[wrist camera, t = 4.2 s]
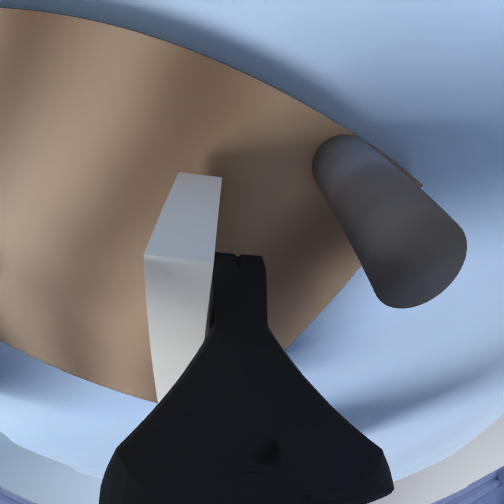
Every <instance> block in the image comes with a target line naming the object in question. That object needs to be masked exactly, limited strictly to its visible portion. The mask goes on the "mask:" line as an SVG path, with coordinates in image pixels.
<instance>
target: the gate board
mask: <svg viewBox="0 0 504 504" xmlns="http://www.w3.org/2000/svg"><path fill="white" fill-rule="evenodd" d="M179 172H181V173H190V174H199V175H207V176H215V177H222V183H221V192H220V202H219V212H218V222H217V232H216V243H215V252H219V253H232V254H235V255H236V256H237V257H238V256H239V255H241V254H245V255H258V256H262V258H263V261H264V264H265V268H266V280H267V318H268V327H269V328H270V330H271V332H272V333H273V335H274V336H275V338H276V339H277V341H278V342H279V344H280V345H281V347H282V348H283V350H284V351H285V350H286V349H287V348H288V347H289V346H290V344H291V343H292V342H293V341H294V340H295V339H296V338H297V337H298V336H299V335H300V334H301V333H302V332H303V331H304V330H305V329H306V328H307V327H308V325H309V324H310V323H311V322H312V321H313V320H314V319H315V318H316V317H317V316H318V315H319V314H320V312H321V311H322V310H323V309H324V308H325V307H326V306H327V305H328V304H329V302H330V301H331V300H332V299H333V298H334V297H335V296H336V294H337V293H338V292H339V291H340V290H341V289H342V288H343V286H344V285H345V284H346V283H347V282H348V281H349V279H350V278H351V277H352V276H353V275H354V274H355V272H356V271H357V270H358V269H359V268H360V266H361V265H362V267H363V269H364V271H365V273H366V275H367V277H368V279H369V281H370V283H371V285H372V287H373V290H374V292H375V294H376V296H377V297H378V299H379V300H380V301H381V302H382V303H384V304H385V305H387V306H390V307H393V308H410V307H415V306H418V305H421V304H423V303H426V302H428V301H429V300H431V299H433V298H434V297H436V296H437V295H439V294H440V293H441V292H443V291H444V290H445V289H446V288H447V287H448V286H449V285H450V284H451V283H452V281H453V280H454V279H455V277H456V276H457V275H458V273H459V271H460V269H461V267H462V265H463V263H464V260H465V256H466V251H467V241H466V236H465V234H464V232H463V230H462V228H461V227H460V226H459V225H458V224H457V223H456V222H455V221H454V220H453V219H452V218H451V217H450V216H449V215H448V214H447V213H446V212H445V211H444V210H443V209H442V208H441V207H440V206H439V205H438V204H437V203H436V202H435V201H434V200H432V199H431V198H430V197H429V196H428V195H427V194H426V193H425V192H424V191H423V190H422V189H421V187H422V186H423V185H422V184H421V183H420V182H419V181H417V180H416V179H415V178H414V177H413V176H412V175H410V174H409V173H408V172H407V171H405V170H404V169H403V168H401V167H400V166H399V165H397V164H396V163H395V162H393V161H392V160H391V159H389V158H388V157H387V156H385V155H384V154H382V153H381V152H380V151H378V150H377V149H375V148H374V147H372V146H371V145H370V144H368V143H367V142H365V141H364V140H362V139H361V138H359V137H358V136H356V135H355V134H353V133H352V132H350V131H349V130H347V129H346V128H344V127H342V126H341V125H339V124H338V123H336V122H334V121H333V120H331V119H330V118H328V117H326V116H325V115H323V114H321V113H320V112H318V111H316V110H315V109H313V108H311V107H309V106H308V105H306V104H304V103H302V102H301V101H299V100H297V99H295V98H293V97H292V96H290V95H288V94H286V93H284V92H282V91H280V90H278V89H276V88H275V87H273V86H271V85H269V84H267V83H265V82H263V81H261V80H259V79H257V78H255V77H252V76H250V75H248V74H246V73H244V72H242V71H240V70H237V69H235V68H233V67H231V66H229V65H226V64H224V63H222V62H219V61H217V60H215V59H212V58H210V57H207V56H205V55H202V54H200V53H197V52H195V51H192V50H190V49H187V48H184V47H181V46H179V45H176V44H173V43H170V42H167V41H164V40H162V39H158V38H155V37H152V36H149V35H146V34H143V33H139V32H136V31H133V30H129V29H126V28H122V27H118V26H114V25H110V24H106V23H102V22H98V21H93V20H89V19H84V18H79V17H74V16H69V15H63V14H57V13H50V12H43V11H35V10H26V9H15V8H0V341H2V342H4V343H6V344H7V345H9V346H11V347H13V348H15V349H17V350H19V351H21V352H23V353H25V354H27V355H29V356H31V357H33V358H35V359H38V360H40V361H42V362H44V363H46V364H48V365H51V366H53V367H55V368H58V369H60V370H62V371H65V372H67V373H70V374H72V375H74V376H77V377H80V378H82V379H85V380H87V381H90V382H93V383H95V384H98V385H101V386H104V387H107V388H109V389H112V390H115V391H118V392H121V393H125V394H128V395H131V396H134V397H137V398H141V399H144V400H148V401H151V402H155V403H158V400H157V394H156V387H155V380H154V373H153V365H152V357H151V348H150V339H149V328H148V317H147V304H146V290H145V271H144V253H145V250H146V247H147V245H148V242H149V240H150V237H151V235H152V232H153V230H154V228H155V225H156V223H157V220H158V218H159V216H160V213H161V211H162V209H163V206H164V204H165V202H166V199H167V197H168V195H169V193H170V190H171V188H172V186H173V184H174V181H175V179H176V177H177V175H178V173H179ZM209 303H210V296H209ZM208 324H209V304H208V312H207V320H206V329H205V338H204V340H205V339H206V337H207V335H208Z"/></svg>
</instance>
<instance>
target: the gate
mask: <svg viewBox="0 0 504 504" xmlns="http://www.w3.org/2000/svg"><path fill="white" fill-rule="evenodd" d="M221 183H222V177H215V176H207V175H199V174H190V173H181V172H179V173H178V175H177V177H176V179H175V181H174V184H173V186H172V188H171V190H170V193H169V195H168V197H167V199H166V202H165V204H164V206H163V209H162V211H161V213H160V216H159V218H158V220H157V223H156V225H155V228H154V230H153V232H152V235H151V237H150V240H149V242H148V245H147V247H146V250H145V253H144V271H145V290H146V304H147V317H148V328H149V339H150V348H151V357H152V365H153V373H154V380H155V387H156V394H157V400H158V403H159V402H160V401H161V400H162V399H163V397H164V396H165V395H166V394H167V393H168V391H169V390H170V389H171V388H172V387H173V385H174V384H175V383H176V381H177V380H178V379H179V377H180V376H181V375H182V373H183V372H184V371H185V369H186V368H187V366H188V365H189V363H190V362H191V360H192V359H193V358H194V356H195V355H196V353H197V352H198V350H199V348H200V347H201V345H202V343H203V342H204V338H205V329H206V320H207V312H208V304H209V296H210V288H211V280H212V272H213V265H214V254H215V243H216V232H217V222H218V212H219V202H220V192H221Z"/></svg>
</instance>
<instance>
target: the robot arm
mask: <svg viewBox="0 0 504 504" xmlns="http://www.w3.org/2000/svg"><path fill="white" fill-rule="evenodd" d="M393 490H394V485H393V481H392V476H391V472H390V469H389V466H388V463H387V461H386V458H385V456H384V453H383V450H382V449H381V448H380V447H378V446H377V445H376V444H375V443H373V442H372V441H371V440H369V439H368V438H367V437H366V436H364V435H363V434H362V433H361V432H360V431H358V430H357V429H356V428H355V427H354V426H353V425H351V424H350V423H349V422H348V421H347V420H346V419H345V418H344V417H343V416H342V415H341V414H339V413H338V412H337V411H336V410H335V409H334V408H333V407H332V406H331V405H330V404H329V403H328V402H327V401H326V400H325V399H324V398H323V396H322V395H321V394H320V393H319V392H318V391H317V390H316V389H315V388H314V387H313V386H312V384H311V383H310V382H309V381H308V380H307V379H306V378H305V377H304V376H303V374H302V373H301V372H300V371H299V369H298V368H297V367H296V366H295V364H294V363H293V362H292V361H291V359H290V358H289V357H288V355H287V354H286V352H285V351H284V350H283V348H282V347H281V345H280V344H279V342H278V341H277V339H276V338H275V336H274V335H273V333H272V332H271V330H270V328H269V327H268V318H267V280H266V268H265V264H264V261H263V258H262V256H258V255H245V254H241V255H239V256H238V257H237V256H236V255H235V254H232V253H219V252H215V254H214V265H213V272H212V280H211V288H210V303H209V324H208V335H207V337H206V339H205V340H204V342H203V343H202V345H201V347H200V348H199V350H198V352H197V353H196V355H195V356H194V358H193V359H192V360H191V362H190V363H189V365H188V366H187V368H186V369H185V371H184V372H183V373H182V375H181V376H180V377H179V379H178V380H177V381H176V383H175V384H174V385H173V387H172V388H171V389H170V390H169V391H168V393H167V394H166V395H165V396H164V397H163V399H162V400H161V401H160V402H159V403H158V405H157V406H156V407H155V408H154V409H153V411H152V412H151V413H150V414H149V415H148V416H147V417H146V418H145V419H144V420H143V421H142V422H141V423H140V424H139V425H138V427H137V428H136V429H135V430H134V431H133V432H132V433H131V434H130V435H129V436H128V437H127V438H126V439H125V440H124V441H123V442H122V443H121V444H120V445H119V446H118V447H117V448H116V450H115V452H114V454H113V456H112V458H111V460H110V462H109V464H108V466H107V469H106V471H105V474H104V477H103V480H102V484H101V489H100V497H99V504H367V503H370V502H373V501H375V500H378V499H380V498H383V497H385V496H387V495H389V494H390V493H392V491H393ZM0 504H36V503H34V502H32V501H30V500H27V499H25V498H23V497H20V496H19V495H17V494H15V493H12V492H10V491H9V490H7V489H5V488H3V487H1V486H0ZM432 504H504V466H503V467H501V468H500V469H497V470H495V471H493V472H492V473H490V474H488V475H486V476H485V477H483V478H481V479H479V480H477V481H475V482H474V483H472V484H470V485H469V486H468V487H466V488H464V489H462V490H460V491H458V492H456V493H454V494H452V495H450V496H447V497H445V498H443V499H441V500H439V501H436V502H434V503H432Z"/></svg>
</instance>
